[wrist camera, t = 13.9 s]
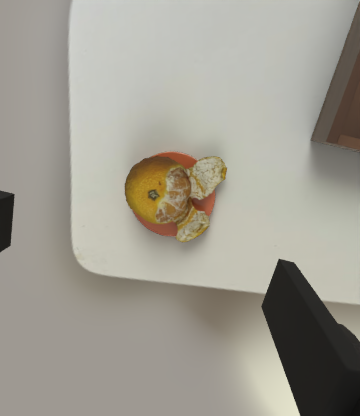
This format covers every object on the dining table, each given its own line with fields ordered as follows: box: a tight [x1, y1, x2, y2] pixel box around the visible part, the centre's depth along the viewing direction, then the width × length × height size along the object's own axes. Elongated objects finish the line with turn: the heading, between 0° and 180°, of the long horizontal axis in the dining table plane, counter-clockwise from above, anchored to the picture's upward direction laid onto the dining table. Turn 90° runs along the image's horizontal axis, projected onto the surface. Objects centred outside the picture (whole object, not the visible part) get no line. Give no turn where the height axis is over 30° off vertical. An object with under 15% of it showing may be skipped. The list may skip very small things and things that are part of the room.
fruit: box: [125, 156, 227, 242], centre depth 25 cm, size 8×8×4 cm
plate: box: [133, 151, 215, 236], centre depth 27 cm, size 8×8×1 cm
